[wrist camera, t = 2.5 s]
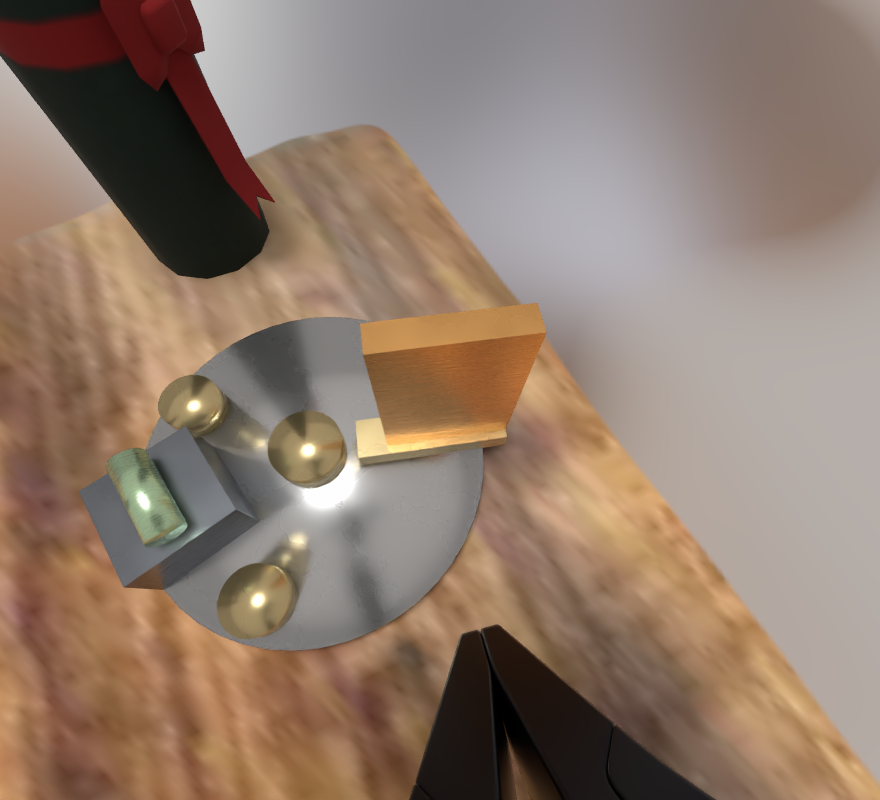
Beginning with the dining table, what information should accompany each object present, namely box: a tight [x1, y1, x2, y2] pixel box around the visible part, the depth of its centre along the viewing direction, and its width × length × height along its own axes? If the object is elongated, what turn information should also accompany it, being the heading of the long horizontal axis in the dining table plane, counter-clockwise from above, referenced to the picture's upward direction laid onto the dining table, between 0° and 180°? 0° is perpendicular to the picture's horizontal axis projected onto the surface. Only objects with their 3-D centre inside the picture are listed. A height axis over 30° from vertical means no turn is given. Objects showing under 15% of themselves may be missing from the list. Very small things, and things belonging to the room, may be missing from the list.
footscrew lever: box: [267, 303, 546, 488], centre depth 19 cm, size 12×4×10 cm, turn 99°
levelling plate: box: [79, 317, 483, 651], centre depth 22 cm, size 18×18×6 cm
